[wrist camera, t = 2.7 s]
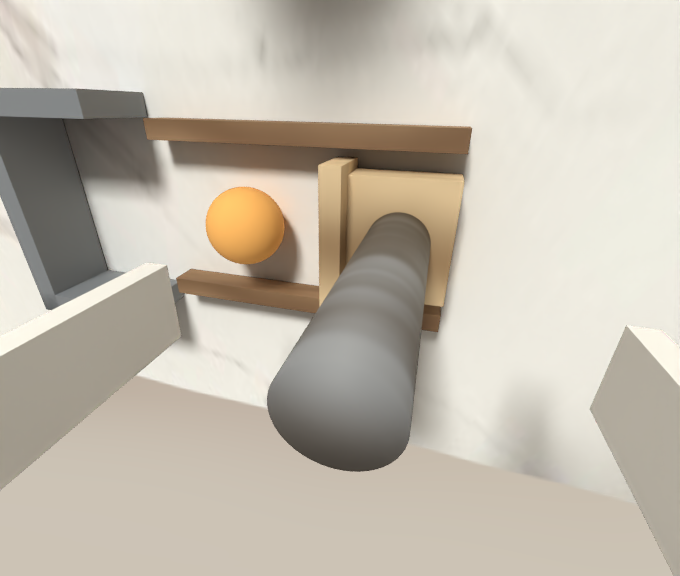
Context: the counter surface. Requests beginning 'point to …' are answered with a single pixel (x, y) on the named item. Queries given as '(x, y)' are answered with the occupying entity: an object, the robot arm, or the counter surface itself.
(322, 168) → the carriage
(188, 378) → the counter surface
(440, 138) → the rails
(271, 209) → the ball
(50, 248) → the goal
